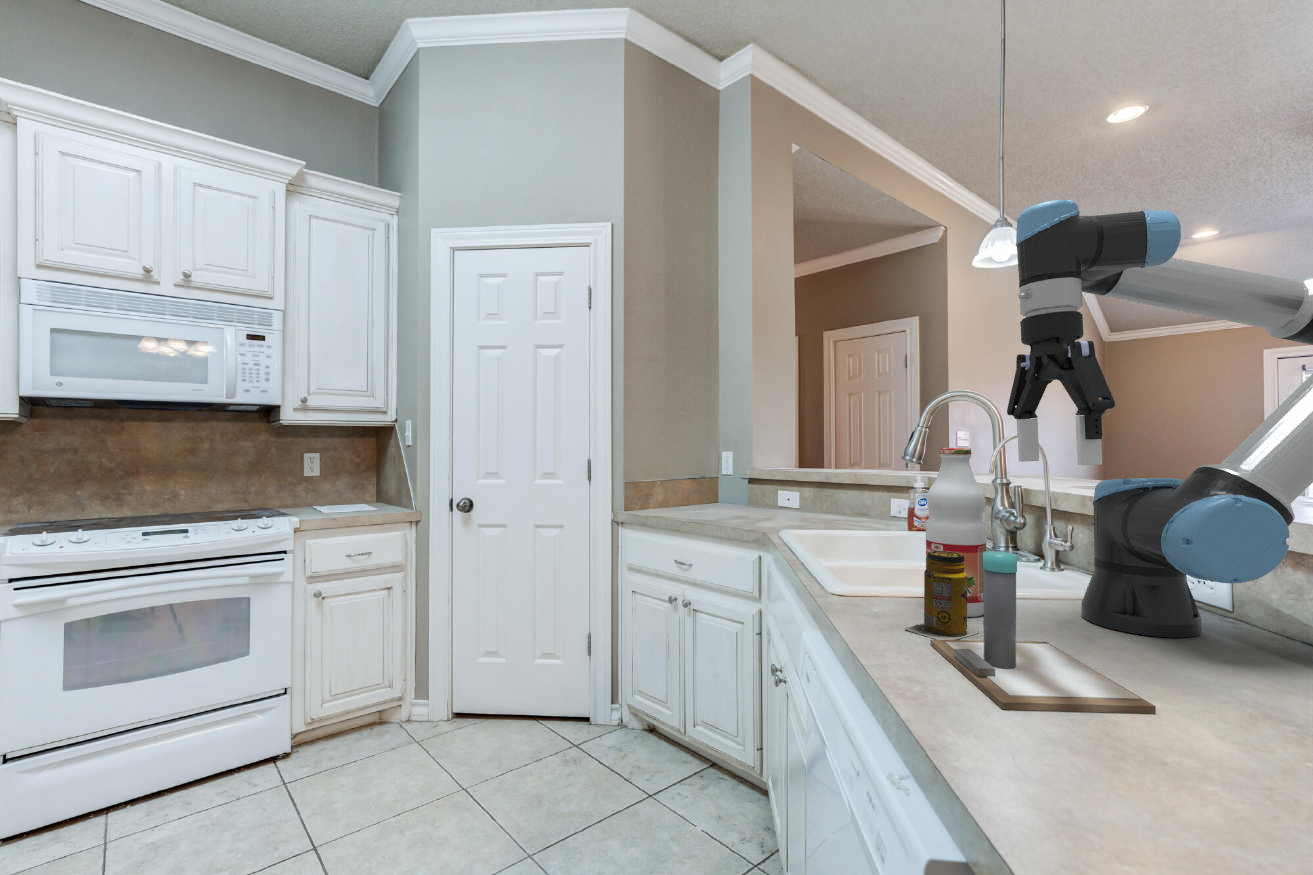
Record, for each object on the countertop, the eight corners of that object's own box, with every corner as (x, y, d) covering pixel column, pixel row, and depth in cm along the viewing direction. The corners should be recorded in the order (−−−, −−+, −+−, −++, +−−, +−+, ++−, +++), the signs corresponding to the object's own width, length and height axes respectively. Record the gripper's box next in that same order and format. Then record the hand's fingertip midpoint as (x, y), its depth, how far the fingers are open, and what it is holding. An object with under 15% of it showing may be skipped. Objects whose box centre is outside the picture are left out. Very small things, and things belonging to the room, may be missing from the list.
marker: (1009, 659, 80) (1010, 551, 80) (1022, 670, 76) (1022, 557, 76) (978, 657, 81) (978, 550, 81) (989, 668, 77) (989, 556, 77)
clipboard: (1046, 647, 88) (1046, 633, 88) (1155, 713, 67) (1155, 696, 67) (930, 645, 89) (930, 631, 89) (1002, 709, 68) (1002, 692, 68)
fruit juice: (999, 614, 104) (999, 448, 104) (956, 620, 100) (956, 448, 100) (954, 600, 112) (954, 447, 112) (913, 605, 109) (913, 447, 109)
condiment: (979, 633, 94) (979, 554, 94) (947, 643, 90) (947, 561, 90) (935, 621, 100) (935, 547, 100) (903, 630, 96) (903, 553, 96)
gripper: (979, 330, 101) (985, 460, 101) (1083, 295, 76) (1090, 468, 76) (1026, 328, 101) (1031, 459, 101) (1144, 292, 76) (1152, 465, 76)
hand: (1057, 463), depth 88 cm, fingers open, 13 cm apart
